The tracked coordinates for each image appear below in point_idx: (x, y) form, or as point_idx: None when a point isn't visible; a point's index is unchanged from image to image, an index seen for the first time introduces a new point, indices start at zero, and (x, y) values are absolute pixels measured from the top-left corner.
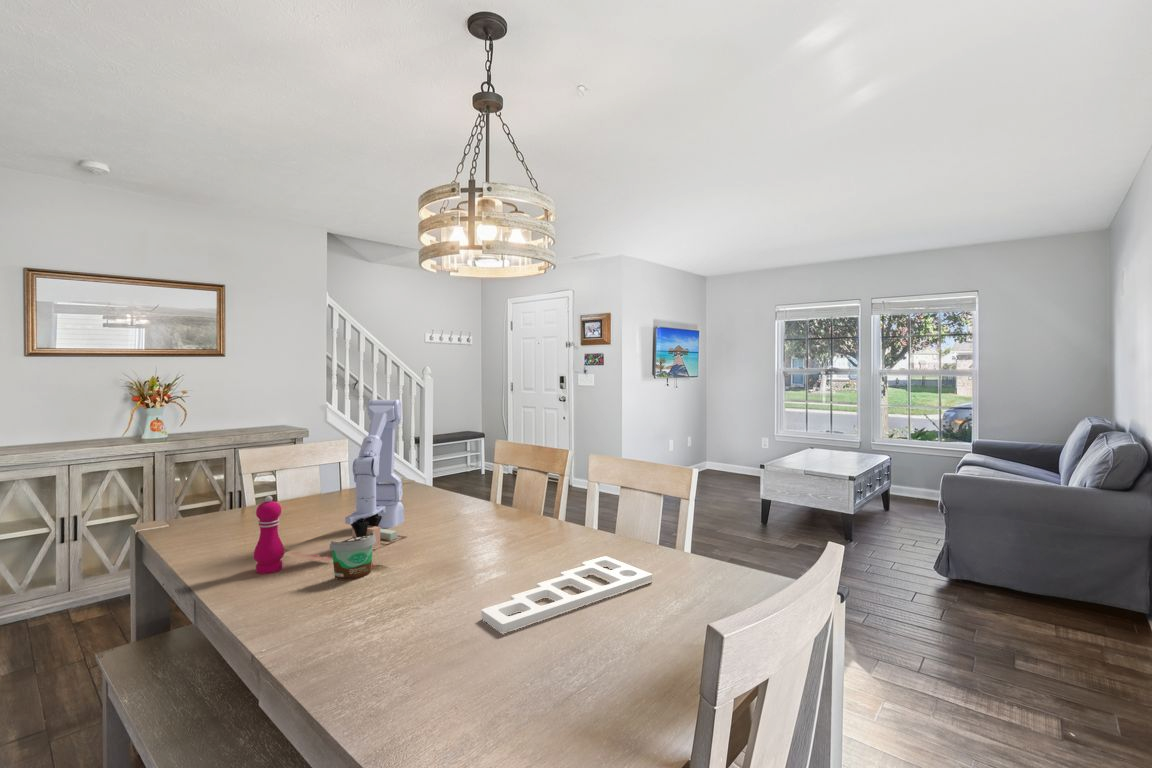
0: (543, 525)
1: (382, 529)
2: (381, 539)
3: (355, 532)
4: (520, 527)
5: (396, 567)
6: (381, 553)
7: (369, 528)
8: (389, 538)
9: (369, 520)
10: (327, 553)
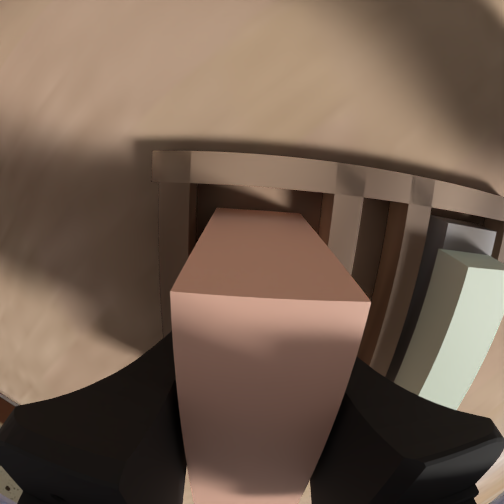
0: (497, 490)
1: (497, 309)
2: (397, 341)
3: (129, 370)
4: (498, 481)
5: None
6: None
7: (211, 493)
8: None
9: (342, 501)
10: (88, 100)
